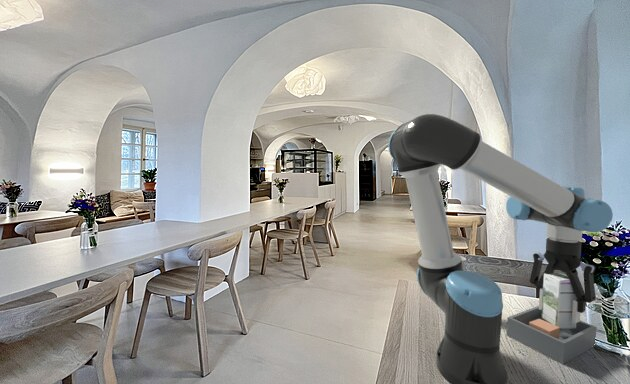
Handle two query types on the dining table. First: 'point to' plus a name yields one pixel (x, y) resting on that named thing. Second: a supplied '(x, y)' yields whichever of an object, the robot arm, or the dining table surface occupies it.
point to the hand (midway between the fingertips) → (558, 314)
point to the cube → (545, 327)
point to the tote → (557, 349)
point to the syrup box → (558, 300)
